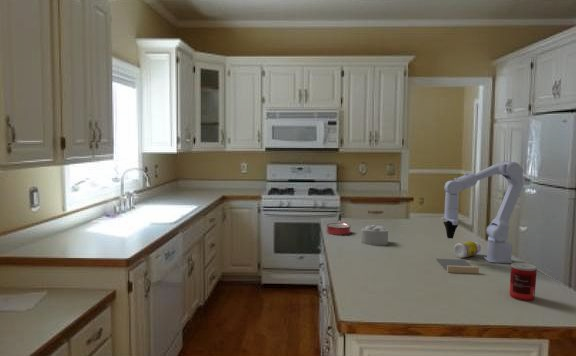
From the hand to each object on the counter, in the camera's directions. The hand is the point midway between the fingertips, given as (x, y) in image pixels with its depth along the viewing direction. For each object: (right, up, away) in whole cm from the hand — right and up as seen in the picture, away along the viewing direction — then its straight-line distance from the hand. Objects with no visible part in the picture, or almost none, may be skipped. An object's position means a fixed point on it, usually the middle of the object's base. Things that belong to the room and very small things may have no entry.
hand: (450, 238), depth 200 cm
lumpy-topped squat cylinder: (-28, -7, +30) cm, 42 cm away
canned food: (+8, -14, -47) cm, 49 cm away
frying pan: (-43, -4, +62) cm, 76 cm away
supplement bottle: (+5, -6, +2) cm, 8 cm away
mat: (-1, -10, -10) cm, 14 cm away
